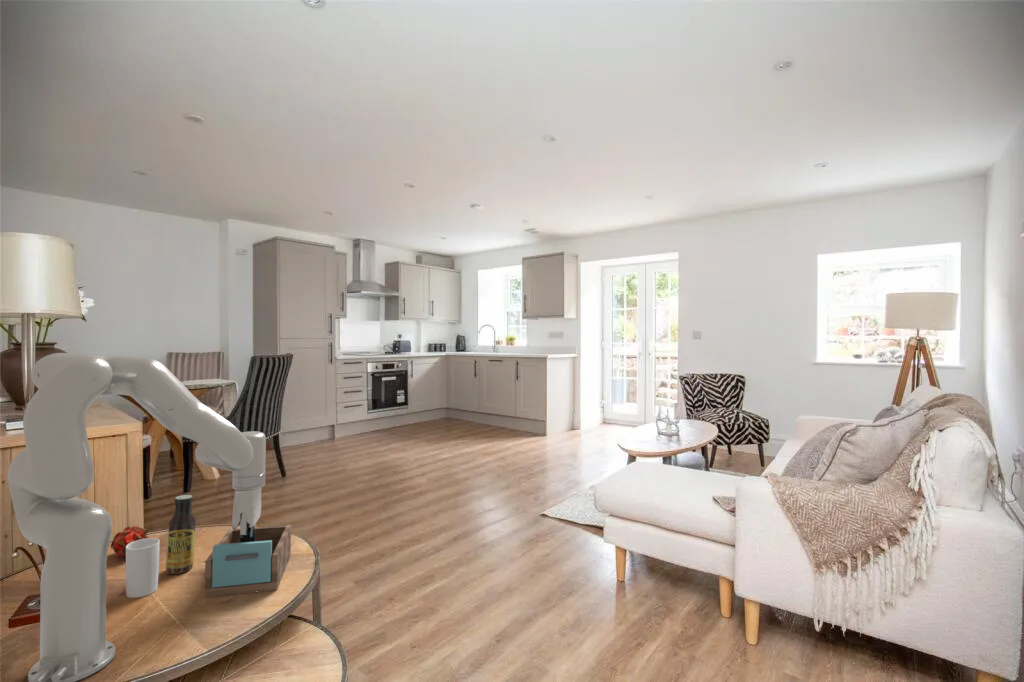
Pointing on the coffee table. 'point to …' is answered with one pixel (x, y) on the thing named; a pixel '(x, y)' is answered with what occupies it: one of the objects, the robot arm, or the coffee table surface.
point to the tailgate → (242, 563)
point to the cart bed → (279, 560)
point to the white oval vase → (142, 567)
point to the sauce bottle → (181, 537)
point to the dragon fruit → (127, 539)
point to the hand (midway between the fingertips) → (247, 550)
